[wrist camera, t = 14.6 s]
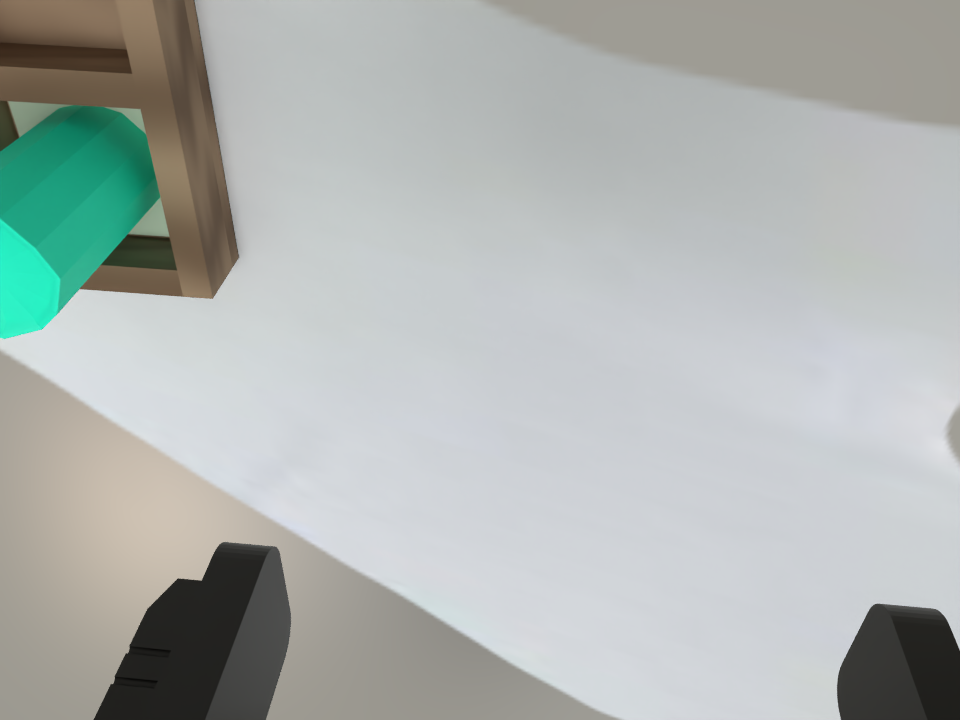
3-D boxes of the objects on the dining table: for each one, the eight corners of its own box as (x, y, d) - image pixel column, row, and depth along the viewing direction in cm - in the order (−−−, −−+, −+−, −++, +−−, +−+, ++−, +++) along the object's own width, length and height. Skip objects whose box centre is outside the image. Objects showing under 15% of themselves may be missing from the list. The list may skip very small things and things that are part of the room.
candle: (59, 213, 42) (-91, 354, 33) (25, 96, 39) (-155, 218, 29) (174, 223, 42) (57, 369, 33) (152, 107, 38) (12, 233, 29)
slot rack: (-117, -218, 33) (-191, -212, 29) (157, -208, 32) (111, -201, 29) (39, 243, 45) (-2, 282, 42) (238, 257, 44) (212, 298, 41)
